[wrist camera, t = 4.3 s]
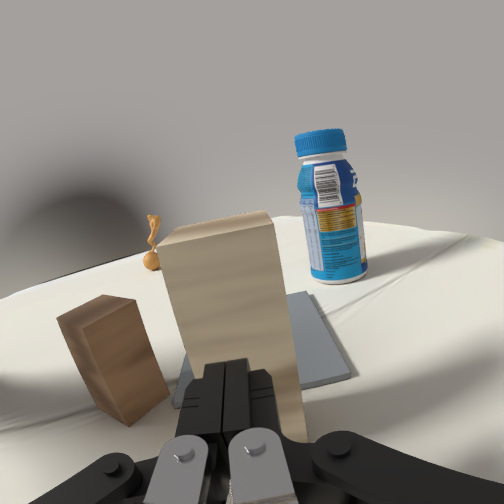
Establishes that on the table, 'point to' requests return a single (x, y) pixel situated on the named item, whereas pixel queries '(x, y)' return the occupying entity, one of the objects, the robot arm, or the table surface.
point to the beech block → (235, 303)
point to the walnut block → (114, 357)
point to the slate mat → (297, 349)
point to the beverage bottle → (330, 208)
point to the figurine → (152, 257)
